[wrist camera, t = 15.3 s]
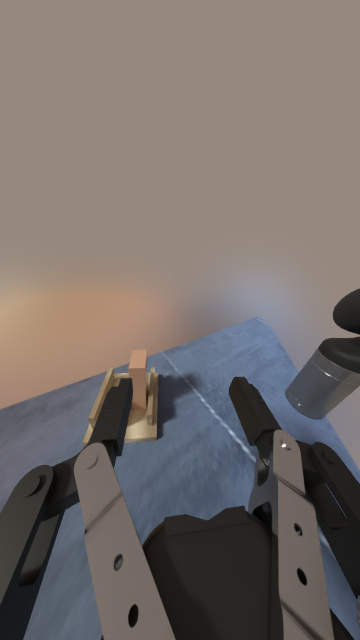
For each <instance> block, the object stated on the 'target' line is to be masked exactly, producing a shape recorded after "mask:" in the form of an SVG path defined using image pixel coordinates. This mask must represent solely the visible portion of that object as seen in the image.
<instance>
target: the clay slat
mask: <svg viewBox="0 0 360 640" xmlns="http://www.w3.org/2000/svg"><path fill="white" fill-rule="evenodd" d="M129 378H132V383H133V399H132V408H133V410H146V402H147V350H133V351H132V356H131V360H130V364H129Z"/></svg>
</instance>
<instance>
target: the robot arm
mask: <svg viewBox="0 0 360 640" xmlns="http://www.w3.org/2000/svg"><path fill="white" fill-rule="evenodd" d="M333 319H334V321H335V323H336V324H337V325H338V326H339V327H341V328H343V329H345V330H347V331H349V332H353V333H356V334H360V289H357V290H355V291H353V292H351V293H349V294H348V295H346V296H345V297H344V298H342V299H341V300H340V301H339V303H338V304H337V305H336V306H335V308H334V311H333ZM358 386H360V337H355V338H329V339H326V340H324V341H323V342H322V343H321V345H320V346H319V347H318V349H317V350H316V351H315V353H314V354H313V355H312V357H311V358H310V359H309V361H308V362H307V363H306V365H305V366H304V367H303V368H302V370H301V371H300V372H299V374H298V375H297V376H296V377H295V379H294V380H293V381H292V383H291V384H290V385H289V387H288V388H287V389H286V391H285V394H286V397H287V399H288V401H289V402H290V403H291V405H292V406H293V407H294V408H295V409H297V410H298V411H299V412H300V413H302V414H304V415H305V416H307V417H310V418H313V419H321V418H323V417H324V416H325V415H326V414H328V413H329V412H330V411H331V410H332V409H333V408H335V407H336V406H337V405H338V404H339V403H340V402H341V401H342V400H344V399H345V398H346V397H347V396H348V395H349V394H351V393H352V392H353V391H354V390H355V389H356V388H357V387H358ZM229 395H230V398H231V400H232V403H233V405H234V408H235V410H236V413H237V415H238V417H239V420H240V422H241V425H242V427H243V430H244V432H245V435H246V437H247V439H248V442H249V444H250V446H255V445H256V446H257V449H258V451H257V457H256V468H255V478H254V486H253V490H252V492H251V495H250V499H249V506H248V512H247V511H246V510H245V507H244V506H239V507H232V508H226V509H224V510H223V511H221V512H220V513H219V514H217V515H216V516H214V517H213V518H211V519H210V520H203V519H200V518H196V517H193V516H190V515H186V514H184V515H178V516H171V517H165V519H164V522H162V523H161V524H159V525H158V526H157V527H156V528H155V529H154V530H153V531H152V532H151V533H150V535H149V536H148V537H147V539H146V540H145V542H144V544H143V546H142V544H141V541H140V539H139V536H138V533H137V530H136V528H135V525H134V522H133V520H132V517H131V514H130V512H129V509H128V506H127V504H126V501H125V498H124V495H123V493H122V490H121V487H120V485H119V482H118V479H117V476H116V474H115V471H114V465H115V461H116V456H121V455H122V450H123V444H124V439H125V434H126V429H127V424H128V419H129V414H130V409H131V404H132V399H133V383H132V378H121V379H120V382H119V385H118V386H112V387H111V389H110V390H109V391H108V392H107V394H106V396H105V399H104V402H103V404H102V407H101V411H100V413H99V415H98V418H97V421H96V423H95V426H94V429H93V431H92V434H91V437H90V439H89V441H88V443H87V445H86V446H85V447H84V449H83V450H82V451H81V452H80V453H78V454H77V455H76V456H74V457H72V458H70V459H68V460H66V461H64V462H62V463H59V464H57V465H55V466H53V467H50V466H49V465H41V466H38V467H36V468H34V469H32V470H31V471H30V472H28V473H27V474H26V475H25V476H24V477H23V478H22V479H21V480H20V481H19V482H18V484H17V485H16V487H15V488H14V490H13V492H12V493H11V495H10V497H9V499H8V501H7V502H6V504H5V506H4V508H3V510H2V511H1V513H0V640H23V638H24V635H25V632H26V629H27V626H28V623H29V620H30V617H31V613H32V610H33V607H34V604H35V601H36V598H37V595H38V592H39V589H40V586H41V583H42V580H43V576H44V573H45V570H46V567H47V564H48V561H49V558H50V555H51V552H52V549H53V546H54V543H55V540H56V536H57V533H58V530H59V527H60V524H61V521H62V518H63V515H64V512H65V510H66V509H68V508H69V507H71V506H73V505H75V504H76V503H78V502H80V504H81V509H82V514H83V519H84V524H85V544H86V550H87V555H88V561H89V566H90V571H91V576H92V581H93V586H94V591H95V596H96V602H97V607H98V612H99V617H100V622H101V627H102V632H103V635H102V638H101V640H354V638H353V637H352V636H351V634H350V633H349V632H348V631H347V629H346V628H345V627H344V625H343V624H342V623H341V622H340V620H339V619H338V618H337V616H336V615H335V614H334V613H333V611H332V610H331V609H330V607H329V601H328V595H327V588H326V581H325V574H324V568H323V561H322V554H321V547H320V540H319V534H318V527H317V522H318V524H319V526H320V528H321V530H322V531H323V533H324V535H325V537H326V539H327V541H328V543H329V545H330V547H331V549H332V551H333V553H334V555H335V557H336V559H337V561H338V563H339V565H340V567H341V569H342V571H343V573H344V575H345V577H346V579H347V581H348V583H349V585H350V587H351V589H352V591H353V593H354V595H355V597H356V599H357V608H358V613H357V621H358V624H359V627H360V484H359V483H358V481H357V480H356V479H355V477H354V476H353V475H352V473H351V472H350V471H349V469H348V468H347V467H346V465H345V464H344V463H343V461H342V460H341V459H340V457H339V456H338V455H337V454H336V453H335V452H334V451H333V450H332V449H331V448H330V447H328V446H327V445H325V444H323V443H321V442H315V443H314V444H313V445H309V444H306V443H303V442H300V441H297V440H295V439H294V438H293V437H292V436H291V435H290V434H288V433H287V432H285V431H283V430H282V429H281V427H280V426H279V424H278V423H277V421H276V419H275V418H274V416H273V414H272V413H271V411H270V410H269V408H268V406H267V405H266V404H265V401H264V400H263V398H262V396H261V395H260V393H259V391H258V390H257V389H256V388H255V387H254V386H253V385H252V384H249V383H248V381H247V379H246V378H245V377H234V378H233V380H232V383H231V385H230V387H229ZM325 482H326V484H327V485H328V487H329V489H330V490H331V492H332V494H333V495H334V497H335V498H336V500H337V502H338V503H339V505H340V506H341V508H342V510H343V511H344V513H345V515H346V517H347V519H348V520H347V519H346V517H345V516H344V514H343V512H342V511H341V509H340V508H339V506H338V504H337V503H336V501H335V499H334V498H333V496H332V495H331V493H330V491H329V490H328V488H327V486H326V485H325Z"/></svg>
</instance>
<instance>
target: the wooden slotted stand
mask: <svg viewBox="0 0 360 640" xmlns="http://www.w3.org/2000/svg"><path fill="white" fill-rule="evenodd" d="M121 378H129V373H117V374H114V371H113V368H109V369H108V372H107V374H106V377H105V379H104V381H103V384H102V386H101V389H100V391H99V394H98V396H97V399H96V401H95V403H94V406H93V408H92V411H91V413H90V416H89V418H88V419H89V422H90V424H89V427H88V429H87V432H86V435H85V437H84V440H83V442H82V444H83V445H84V446H86V445H87V443H88V441H89V439H90V437H91V434H92V431H93V429H94V426H95V423H96V421H97V418H98V415H99V413H100V411H101V407H102V404H103V402H104V399H105V396H106V394H107V392H108V391H109V390H110V389H111V387H112V386H118V385H119V382H120V379H121ZM157 405H158V373H155V368H151V373H147V402H146V410H133V408H132V404H131V409H130V414H129V419H128V424H127V429H126V434H125V439H124V443H129V442H141V441H152V440H156V439H157Z"/></svg>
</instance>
